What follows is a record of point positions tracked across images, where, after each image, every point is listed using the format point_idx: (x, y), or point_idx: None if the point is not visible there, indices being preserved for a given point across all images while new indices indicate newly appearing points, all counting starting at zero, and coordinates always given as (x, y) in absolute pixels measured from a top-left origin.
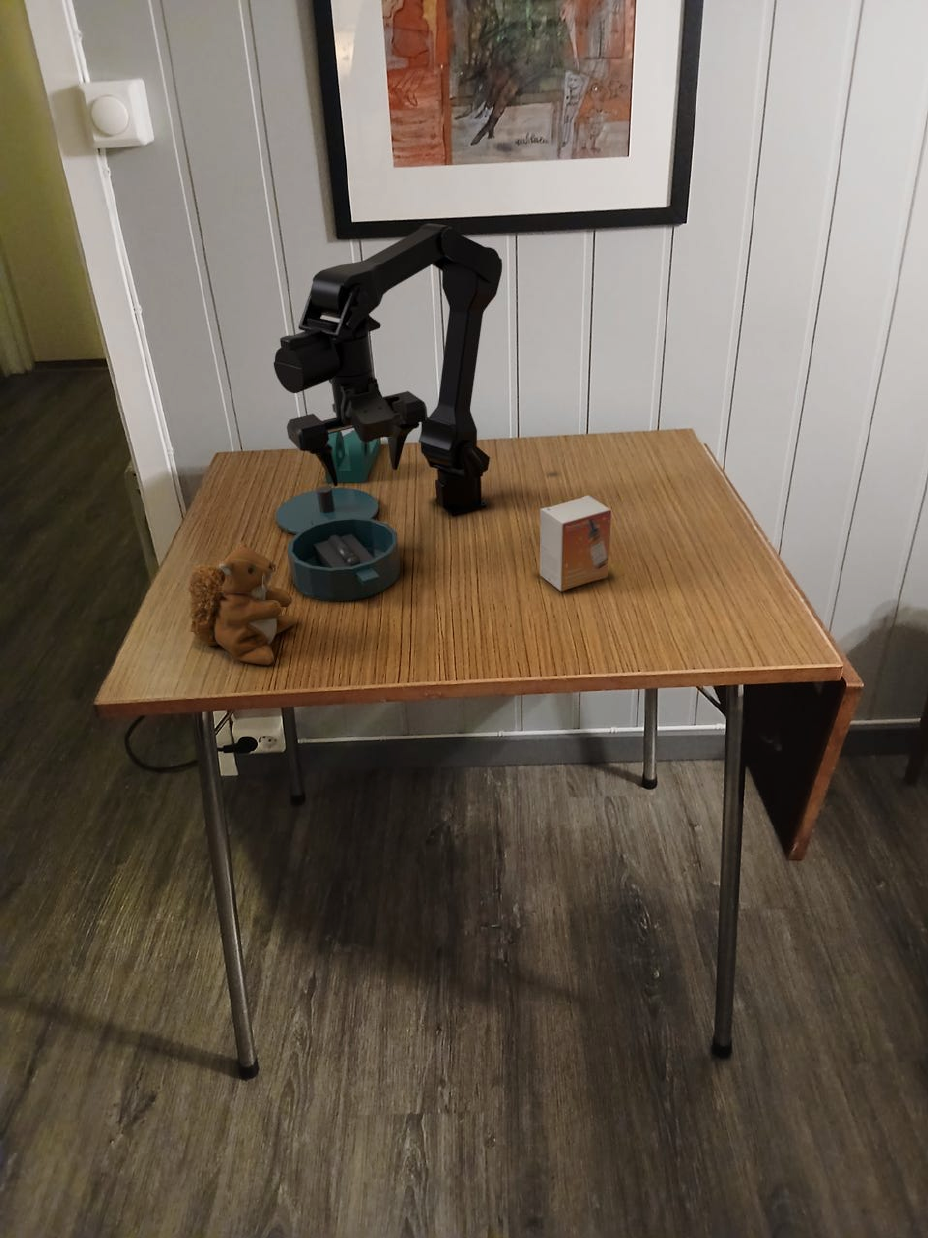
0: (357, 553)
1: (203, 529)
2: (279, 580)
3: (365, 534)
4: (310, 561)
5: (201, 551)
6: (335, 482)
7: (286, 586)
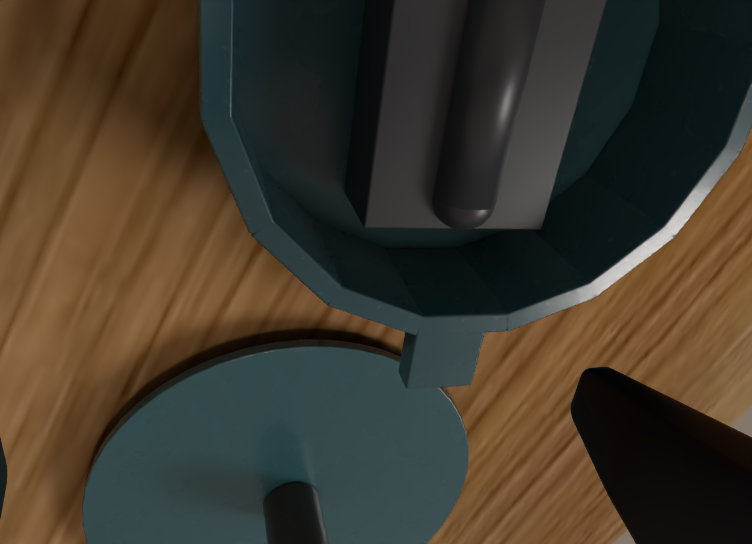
0: (450, 10)
1: (601, 523)
2: None
3: (291, 214)
4: None
5: None
6: (625, 383)
7: None
